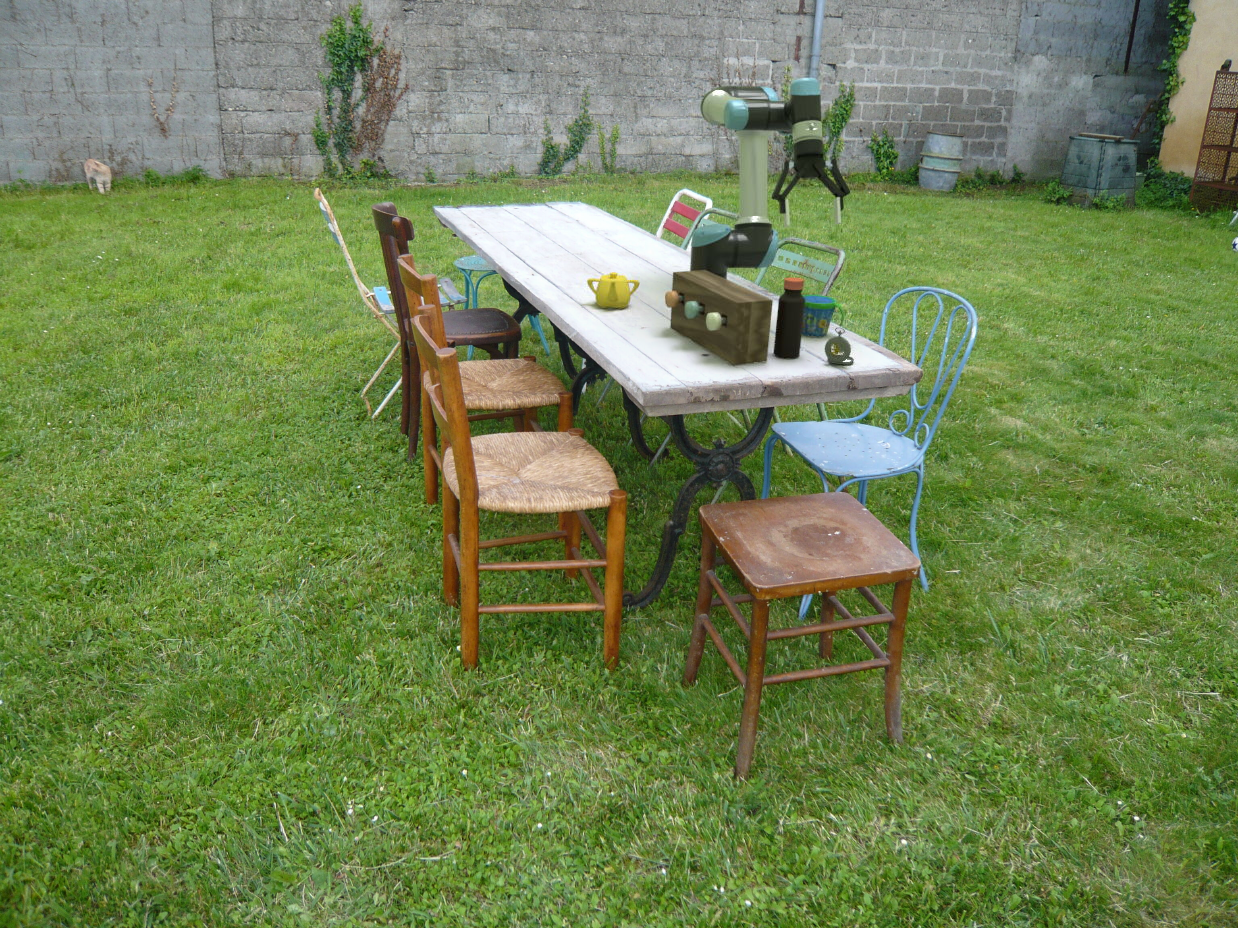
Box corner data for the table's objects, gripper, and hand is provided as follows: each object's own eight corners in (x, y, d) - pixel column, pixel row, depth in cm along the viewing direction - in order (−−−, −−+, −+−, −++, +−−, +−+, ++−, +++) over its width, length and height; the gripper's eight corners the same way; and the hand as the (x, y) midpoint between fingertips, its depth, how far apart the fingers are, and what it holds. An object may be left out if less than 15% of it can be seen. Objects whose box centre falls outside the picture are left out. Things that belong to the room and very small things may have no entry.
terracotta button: (671, 309, 250) (672, 293, 249) (664, 305, 254) (665, 289, 252) (689, 307, 252) (690, 292, 251) (682, 304, 256) (683, 288, 254)
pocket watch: (849, 358, 240) (854, 321, 236) (858, 368, 232) (863, 330, 228) (818, 357, 240) (823, 320, 236) (826, 367, 232) (831, 329, 228)
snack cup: (845, 334, 261) (850, 299, 257) (834, 343, 253) (839, 306, 249) (793, 325, 268) (797, 291, 264) (780, 334, 260) (784, 298, 255)
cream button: (713, 332, 230) (714, 315, 229) (705, 328, 234) (706, 311, 232) (732, 330, 232) (734, 313, 231) (724, 326, 236) (725, 309, 234)
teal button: (691, 320, 240) (692, 304, 239) (684, 316, 244) (685, 300, 242) (710, 318, 242) (711, 302, 241) (702, 314, 246) (703, 298, 244)
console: (732, 365, 232) (737, 302, 225) (670, 328, 262) (673, 272, 255) (766, 361, 236) (772, 300, 229) (701, 325, 266) (705, 270, 259)
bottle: (781, 350, 245) (789, 275, 237) (804, 355, 242) (812, 279, 233) (768, 355, 241) (775, 279, 232) (791, 360, 237) (799, 283, 229)
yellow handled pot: (644, 308, 282) (645, 274, 278) (612, 314, 274) (612, 280, 270) (615, 299, 292) (615, 266, 288) (583, 304, 284) (583, 271, 280)
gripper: (764, 139, 232) (769, 224, 233) (859, 135, 235) (864, 219, 236) (756, 148, 239) (761, 230, 241) (849, 144, 242) (853, 226, 243)
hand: (812, 225), depth 238 cm, fingers open, 13 cm apart
